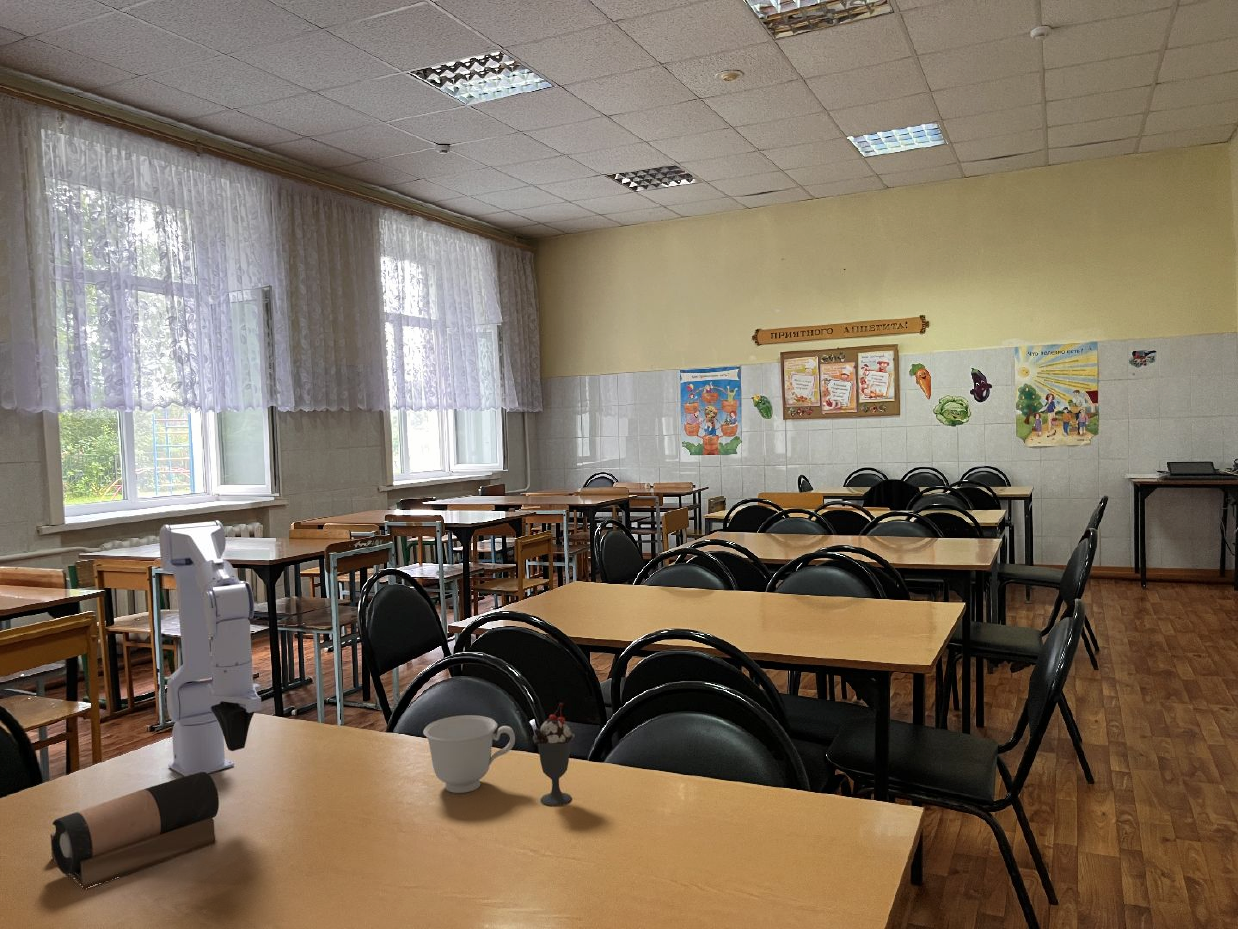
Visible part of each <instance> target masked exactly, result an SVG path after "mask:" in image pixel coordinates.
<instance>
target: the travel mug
mask: <svg viewBox="0 0 1238 929" xmlns="http://www.w3.org/2000/svg"><path fill="white" fill-rule="evenodd" d="M219 798H220V797H219V792H218V788H217V786H216V783H215V781H214V779H213V777H212V776H211V775H210V773H206V772H199V773H196V774H192V775H189V776H182V777H180V778H176V779H172V780H169V781H166V782H163V783H159V784H156V785H152V786H149V787H146V788H143V789H140V790H137V791H134V792H131V793H128V794H126V795H123V796H119V797H116V798H114V799H111V800H108V801H105V802H101V803H99V804H96V805H93V806H90V807H87V808H84V809H82V810H78V811H75V812H72V813H70V814H66V815H63V816H61V817H58V818H56V819H54V821H53V822H52V826H55V832H54V833H55V836H54V837H53V838H52V841H51V840H50V846H51V845H52V851H53V855H54V858H55V861H56V862H55V861H54V862H55V864H56V866H57V867H58V869H59V870H60V872H61V873H62V874H64V875H69V874H71V873H74V872H76V871H79V870H81V861H84V860H87V859H90V858H93V857H96V856H99V855H102V854H105V853H108V852H111V851H114V850H117V849H120V848H123V847H126V846H129V845H132V844H135V843H138V842H141V841H144V840H147V839H150V838H152V837H155V836H158V835H161V834H164V833H167V832H170V831H173V830H176V829H179V828H182V827H185V826H188V825H191V824H194V823H197V822H200V821H203V820H206V819H209V818H212V819H214V818H216V816H217V815H218V812H219V808H220V799H219ZM52 851H51V852H52Z"/></svg>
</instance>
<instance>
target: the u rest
mask: <svg viewBox="0 0 1238 929" xmlns="http://www.w3.org/2000/svg"><path fill="white" fill-rule="evenodd" d="M214 820H215V819H214V818H209V819H206V820H203V821H200V822H197V823H194V824H191V825H188V826H185V827H182V828H179V829H176V830H173V831H170V832H167V833H164V834H161V835H158V836H155V837H152V838H150V839H147V840H144V841H141V842H138V843H135V844H132V845H129V846H126V847H123V848H120V849H117V850H114V851H111V852H108V853H105V854H102V855H99V856H96V857H93V858H90V859H87V860H84V861H81V870H79V871H76V872H74V873H71V874H70V875H71V876H72V877H73V878H75V880H76V881H77V882H78V883H79V884H81V886H83V888H84V889H86V888H88V887H90V886H93V885H95V884H99V883H103V884H105V883H104V882H106V881H109V882H111V881H110V880H112V879H114V880H116V879H115V878H117V877H120V878H122V876H123V877H126V876H127V875H128V876H129V875H131V874H134V873H137V872H139V871H143V870H144V869H147V868H150V867H153V866H156V865H159V864H162V863H163V862H168V861H170V860H172V859H176V858H178V857H180V856H183V855H186V854H189V853H193V852H195V851H198V850H201V849H204V848H206V847H209V846H211V845H215V844H216V836H215V823H214V822H215V821H214ZM54 836H55V832H51V833H50V842H51V841H52V838H53V837H54ZM50 848H51V849H50V850H51V858H52V857H53V859H55V858H54V855H53V851H52V845H51V844H50ZM53 859H52V860H53ZM70 875H69V876H70ZM125 875H126V876H125ZM71 876H70V877H71ZM72 877H71V878H72ZM73 878H72V879H73ZM117 879H118V878H117ZM75 880H74V881H75ZM76 881H75V882H76ZM112 881H113V880H112ZM77 882H76V883H77ZM78 883H77V884H78ZM106 883H107V882H106ZM79 884H78V885H79ZM81 886H80V887H81ZM83 888H82V889H83ZM84 889H83V890H84Z"/></svg>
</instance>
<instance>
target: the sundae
mask: <svg viewBox="0 0 1238 929" xmlns="http://www.w3.org/2000/svg"><path fill="white" fill-rule="evenodd" d="M563 705H564V702H559V705H558V706H557V710H556V711H554V713H553V714H550V715H549V717H548V718H547V719H546V720H544V721H543V723H542V724H541V726H540V729H539V727H537V728H536V729H534V730H533V732H534V735H533V736H532V741H533V743H534V745H535V746H537V748H538V754H539V760H540V761H539V762H540V764H541V769H542V772H543V774H545V776H547V777H548V778H549V779H550V780H551V792H549V793H547V794H544V795H543V796H542V797H541V798H540V803H541V804H543V805H545V806H547V807H548V806H549V807H560V806H561V807H562V806H564V804H565V805H567V804H569V803H570V802H572V800H573V797H572V796H571V794H569V793H567V792H562V791H561V788H560V778H561V777H563V776H564V775H565V774H566V772H567V771H568V768H569V761H570V753H571V752H570V750H571V742H572V741H573V740H574V739H575V736H576V735H575V733H572V732H571V729H570V728H569V726H568V725H567V724H566V723H565V722H566V719H565V717H563V715H562V706H563ZM559 709H560V710H559ZM558 710H559V714H560V716H559V717H557V715H556V714H557V713H558Z"/></svg>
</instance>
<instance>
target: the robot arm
mask: <svg viewBox="0 0 1238 929" xmlns="http://www.w3.org/2000/svg"><path fill="white" fill-rule="evenodd" d="M158 537H159V538H158V541H159V553H160V554H159V555H160V564H161V566H162V571H163V572H168V573H171V574H173V575H172V576H173V578H174V580H175V584H176V592H177V593H176V594H177V595H176V596H177V605H178V606H177V607H178V608H177V609H178V618H179V631H180V642H181V644H180V645H181V655H182V656H181V657H182V665H180V666H179V667H178V668H177V669H176V670H175V671H174V672H173V673H172V674H171V675H170V676H169V677H168V679H167V681H166V689H167V691H166V709H167V714H168V717H169V719H170V720H171V721H172V722H173V723H174V725H173V728H172V730H171V736H172V737H171V739H172V755H173V762H170V763H168V766H167V767H169V768H170V769H172V770H173V771H175V772H177V773H178V774H180V775H182V777H185V776H189V775H192V774H196V773H199V772H206V773H208V774H210V773H214V772H217V771H220V770H224V769H227V768H231V767H234V765H235V763H234V762H233V761H232V760H230V759H228V758H225V757H226V756H225V745H226V748H227V749H228V751H230V752H234V751H238V750H242V749H245V747H246V743H247V737H248V733H249V728H250V725H251V722H252V719H253V716H254V714H255V713H256V712H259V711H262V696H259V695H258V693H257V692H258V691H260V690H261V688H262V686H261V684H258V683H254V675H253V657H252V655H253V654H252V638H251V636H252V635H251V622H250V620H252V619H253V618H254V614H255V598H254V593H253V589H252V586H251V584H250V582H249V581H245V580H240V579H239V577H238V575H237V572H236V571H235V569H234V567H233V565H232V564H231V563H230V561H228V560H226V559H223V558H222V557H223V553H225V550H226V540H227V539H226V532H225V528H224V525H223V523H222V522H221V521H220V520H214V521H204V522H194V523H193V522H192V523H181V524H163V525H162V527H160V529H159V534H158ZM189 682H190V683H189ZM224 741H225V742H224Z"/></svg>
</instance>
